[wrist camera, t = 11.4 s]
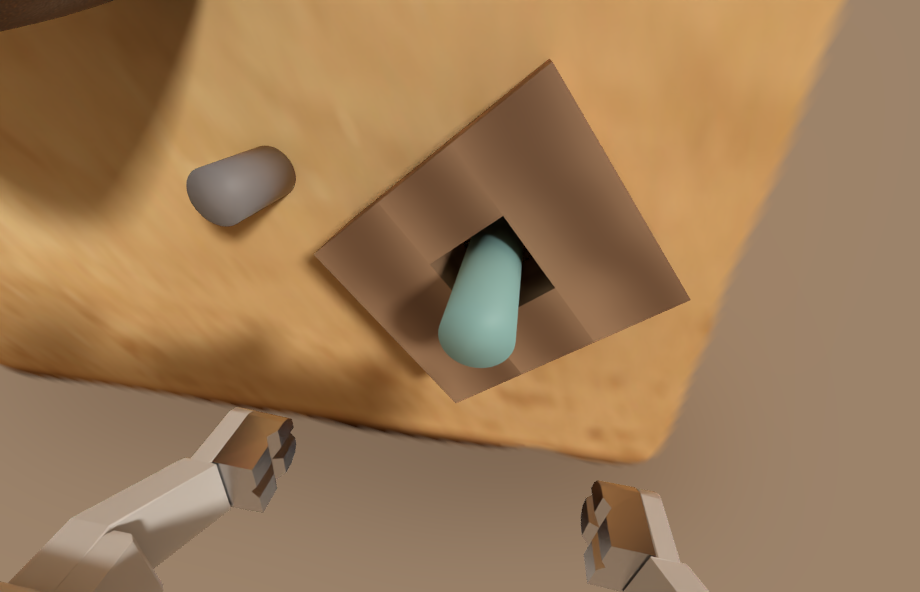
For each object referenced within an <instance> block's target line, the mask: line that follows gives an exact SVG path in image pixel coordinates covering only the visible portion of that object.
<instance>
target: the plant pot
mask: <svg viewBox="0 0 920 592" xmlns="http://www.w3.org/2000/svg"><path fill="white" fill-rule="evenodd" d="M110 1H113V0H0V31H4V30H9V29H13V28H18V27H22V26H26V25H30V24H35V23H39V22H43V21H47V20H51V19H54V18H58V17H62V16H66V15H69V14H72V13H76V12H79V11H82V10H85V9H89V8H92V7H95V6H98V5H101V4H104V3H107V2H110Z"/></svg>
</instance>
